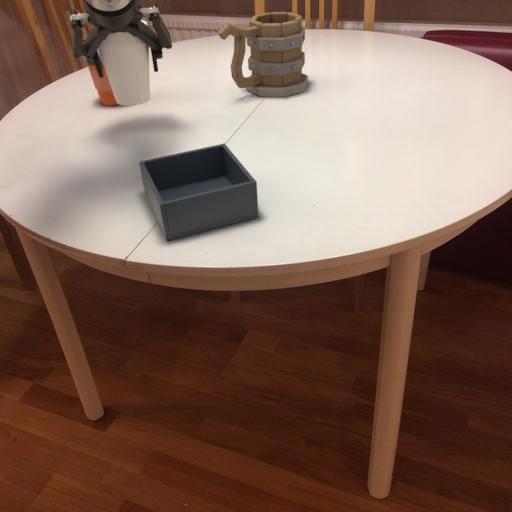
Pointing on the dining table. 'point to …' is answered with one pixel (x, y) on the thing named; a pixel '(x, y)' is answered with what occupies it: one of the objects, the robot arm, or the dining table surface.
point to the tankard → (269, 54)
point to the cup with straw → (102, 85)
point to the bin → (199, 190)
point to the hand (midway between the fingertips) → (128, 67)
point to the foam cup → (126, 67)
